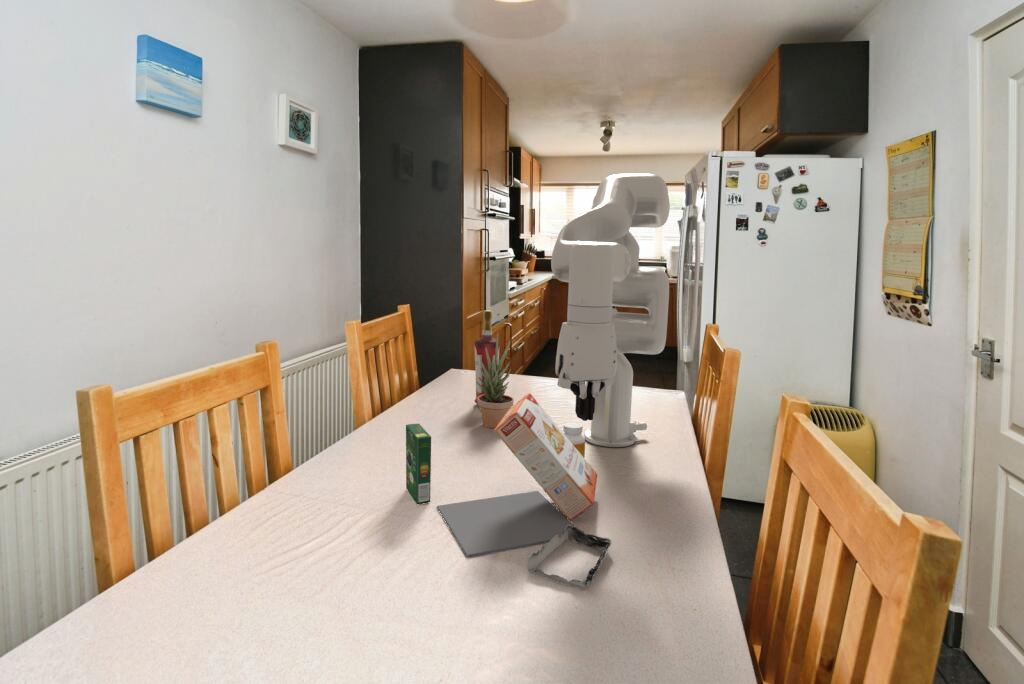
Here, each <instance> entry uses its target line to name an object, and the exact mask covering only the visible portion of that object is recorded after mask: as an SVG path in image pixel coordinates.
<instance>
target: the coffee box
mask: <svg viewBox="0 0 1024 684" xmlns="http://www.w3.org/2000/svg"><path fill="white" fill-rule="evenodd" d="M431 459H432V435H430V433H429V432H427V431H426V429H425V428H424V427H423V426H422V425H421V424H420V423H408V424H406V425H405V462H406V464H405V477H406V478H405V482H406V483H405V485H406V487H405V488H406V490H407V492H408V494H409V495H410V496H411V497H412V499H413V501H414V503H415V504H416V505H417V504H419V505H424V504H423V503H425V504H429V503H428V502H430V503H431V492H432V491H431V489H432V488H431V483H432V482H431V479H432V478H431V475H432V472H431V471H432V465H431V464H432V460H431Z"/></svg>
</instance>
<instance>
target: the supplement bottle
mask: <svg viewBox="0 0 1024 684" xmlns="http://www.w3.org/2000/svg"><path fill="white" fill-rule="evenodd" d="M563 433H564V435H565V436H566V437H567V438H568V439H569V441H570V442H571V443H572V444H573V445H574V447H575V448H576V449H577V450H578V451H579V453H580V454H581V455H582V456H583V457H584V458H585V457H586V456H585V455H586V439H585V437H584V434H583V424H582V423H578V422H566V423H564V424H563Z"/></svg>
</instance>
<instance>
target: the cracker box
mask: <svg viewBox="0 0 1024 684" xmlns="http://www.w3.org/2000/svg"><path fill="white" fill-rule="evenodd" d="M493 431H494V432H495V434H496V435H497V436H498V437H499V439H500V440H501V441H502V442H503V443H504V444H505V446H506V447H507V448H508V449H509V450H510V452H511V453H512V454H513V455H514V456H515V457H516V458H517V460H518V461H519V462H520V464H521V466H523V467H524V468H525V470H526V471H527V472H528V473H529V474H530V476H531V477H532V478H533V479H534V480H535V481H536V483H537V484H538V485H539V486H540V487H541V488H542V490H543V491H544V492H545V494H546V495H547V496H548V497H549V498H550V499H551V501H552V502H553V503H554V504H555V505H556V507H557V509H558V510H559V511H560V512H561V513H562V514H563V515H564V516H565V517H566V518H567V519H568V520H569V521H570V522H571V521H572V520H574V519H575V518H576V517H578V516H579V515H580V514H582V513H584V512H585V511H586V510H587V509H589V508H591V507H592V506H593V505H594V503H595V496H596V489H597V488H596V487H597V482H598V481H597V480H598V473H597V471H596V470H595V469H594V468H593V466H592V465H590V464H589V462H588V461H587V460H586V459H585V457H583V456H582V455H581V454H580V453H579V451H578V450H577V449H576V448H575V447H574V445H573V444H572V443H571V442H570V441H569V439H568V438H567V437H566V436H565V435H564V433H565V432H564V431H562V430H561V429H560V427H559V426H558V425H557V423H556V422H554V420H553V419H552V417H550V415H549V414H548V413H547V412H546V411H545V409H544V408H543V407H542V406H541V405H540V403H539V402H538V401H537V400H536V399H535V397H534V396H533V395H532V393H530V392H529V393H528V394H525V395H524V396H523V397H521V398H520V399H519V400H518V401H517V402H516V403H514V404H513V406H512V407H511V408H510V409H509V410H508V412H507V413H506V414H505V416H504V417H503V419H502V420H501V421H500V423H499V424H498V425H497V427H496V428H493Z"/></svg>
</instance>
